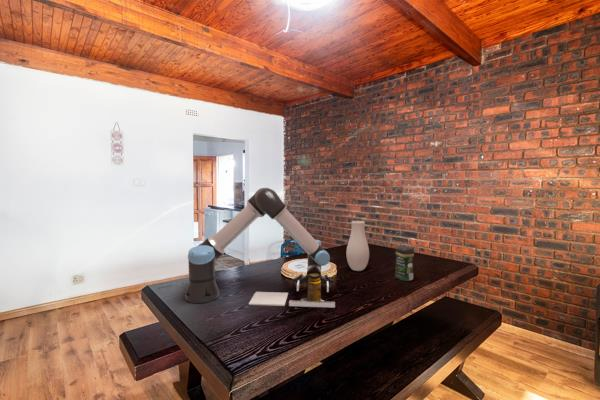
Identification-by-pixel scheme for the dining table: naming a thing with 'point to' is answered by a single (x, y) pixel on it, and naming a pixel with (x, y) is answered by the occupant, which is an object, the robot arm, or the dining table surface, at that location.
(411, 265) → the coffee jar
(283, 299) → the mat
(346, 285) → the dining table surface
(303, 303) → the bar
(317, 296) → the condiment
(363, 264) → the vase
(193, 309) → the dining table surface
